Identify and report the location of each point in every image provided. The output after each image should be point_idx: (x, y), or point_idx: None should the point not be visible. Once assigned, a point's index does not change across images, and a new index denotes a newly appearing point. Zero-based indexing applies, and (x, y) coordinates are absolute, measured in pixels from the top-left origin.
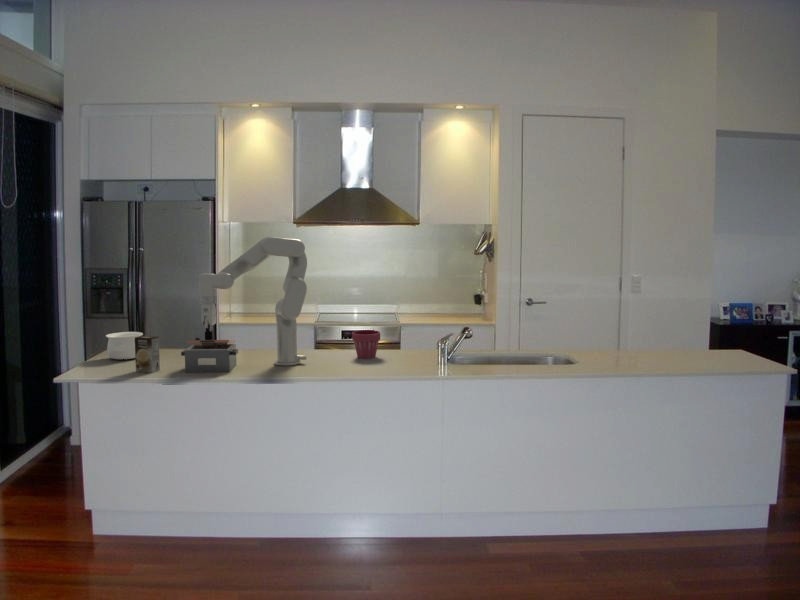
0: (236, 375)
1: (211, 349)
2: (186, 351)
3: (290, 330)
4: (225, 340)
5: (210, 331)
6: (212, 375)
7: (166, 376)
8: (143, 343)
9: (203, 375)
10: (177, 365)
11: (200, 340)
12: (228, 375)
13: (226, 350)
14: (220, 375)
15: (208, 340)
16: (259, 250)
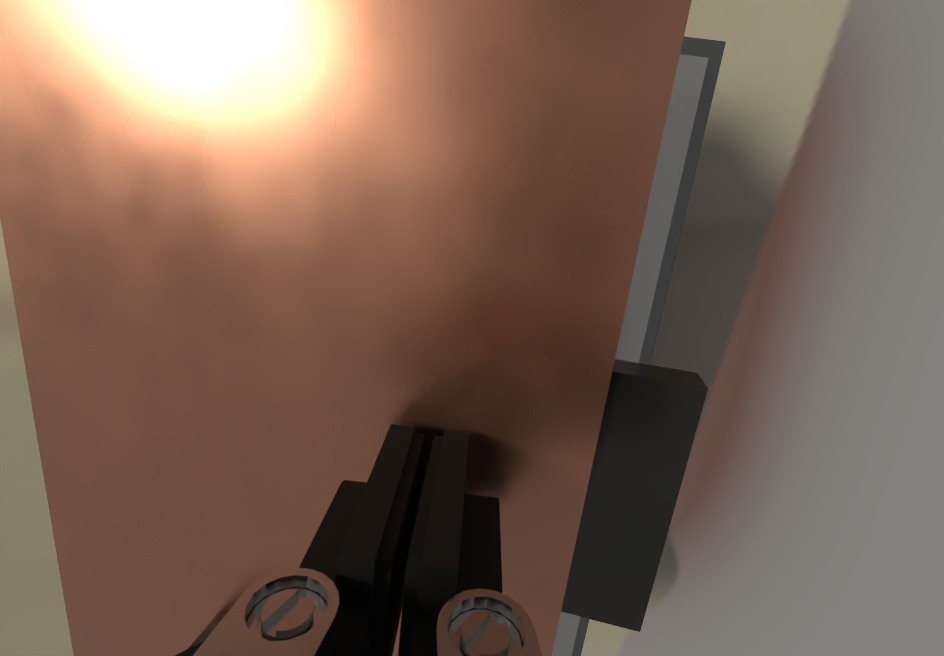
0: (827, 8)
1: (637, 361)
2: (580, 645)
3: None
4: (670, 90)
5: (516, 612)
6: (738, 266)
7: (659, 601)
8: None
9: (711, 345)
10: None
11: (556, 623)
12: (794, 102)
13: (712, 96)
14: (765, 188)
15: (586, 488)
16: None
